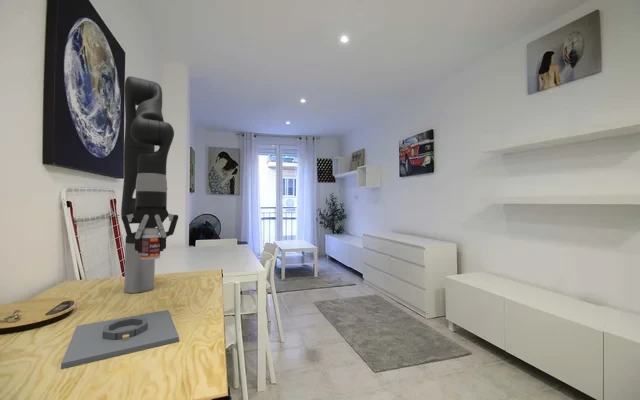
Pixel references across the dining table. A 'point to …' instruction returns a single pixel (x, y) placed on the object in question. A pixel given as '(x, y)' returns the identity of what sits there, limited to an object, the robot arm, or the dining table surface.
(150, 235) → the pill bottle
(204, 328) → the dining table surface
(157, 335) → the socket
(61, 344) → the dining table surface
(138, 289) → the robot arm
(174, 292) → the dining table surface
